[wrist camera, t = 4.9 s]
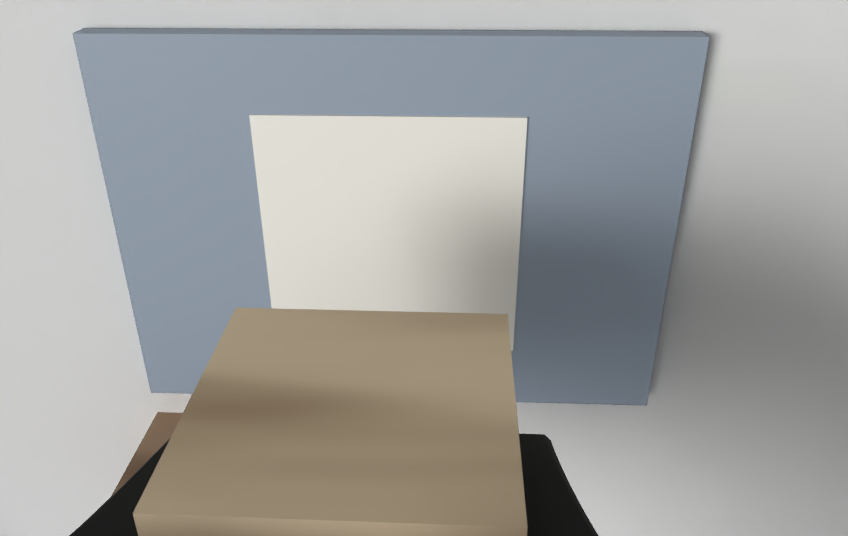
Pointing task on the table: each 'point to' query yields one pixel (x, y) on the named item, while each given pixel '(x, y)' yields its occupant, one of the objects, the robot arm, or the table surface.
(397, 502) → the oak cube
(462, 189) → the board
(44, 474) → the table surface
